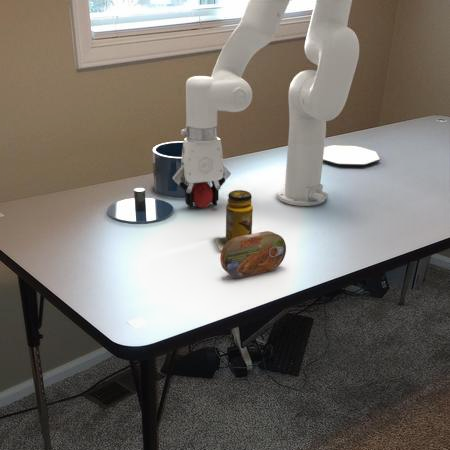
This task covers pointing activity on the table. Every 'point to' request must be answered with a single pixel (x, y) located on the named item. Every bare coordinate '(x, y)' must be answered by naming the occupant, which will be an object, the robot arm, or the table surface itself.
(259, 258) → the tin
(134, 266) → the table surface
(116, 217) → the lid
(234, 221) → the condiment
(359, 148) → the plate
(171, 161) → the pot
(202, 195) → the pomegranate
